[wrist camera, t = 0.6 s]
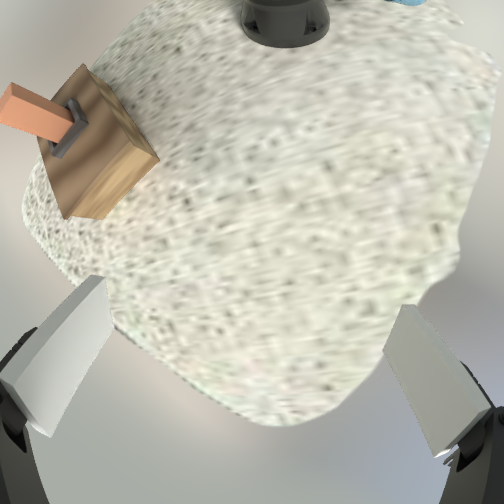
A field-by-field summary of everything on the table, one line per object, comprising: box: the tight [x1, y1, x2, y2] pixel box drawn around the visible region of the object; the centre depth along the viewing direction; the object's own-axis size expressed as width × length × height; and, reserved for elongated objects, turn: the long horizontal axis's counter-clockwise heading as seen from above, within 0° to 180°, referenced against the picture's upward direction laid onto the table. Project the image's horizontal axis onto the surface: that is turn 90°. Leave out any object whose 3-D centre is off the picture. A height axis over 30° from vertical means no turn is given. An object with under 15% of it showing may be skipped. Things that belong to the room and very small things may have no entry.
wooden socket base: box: [37, 64, 160, 220], centre depth 35 cm, size 25×15×11 cm, turn 37°
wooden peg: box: [0, 82, 75, 143], centre depth 24 cm, size 4×4×14 cm
